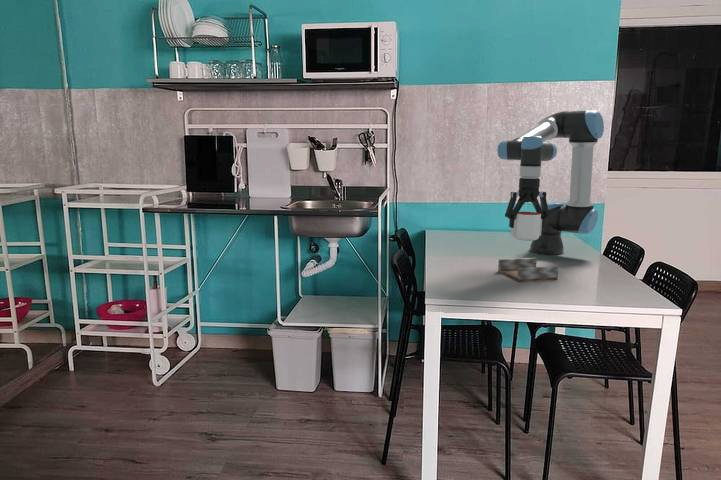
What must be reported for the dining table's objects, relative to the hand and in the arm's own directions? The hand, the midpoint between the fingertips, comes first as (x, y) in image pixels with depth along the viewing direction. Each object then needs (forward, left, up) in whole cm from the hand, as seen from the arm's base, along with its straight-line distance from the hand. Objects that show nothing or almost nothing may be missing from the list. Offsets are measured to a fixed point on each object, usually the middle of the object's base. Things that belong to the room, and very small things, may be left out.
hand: (525, 235), depth 206 cm
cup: (0, 0, -2) cm, 2 cm away
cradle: (-1, +1, -16) cm, 16 cm away
